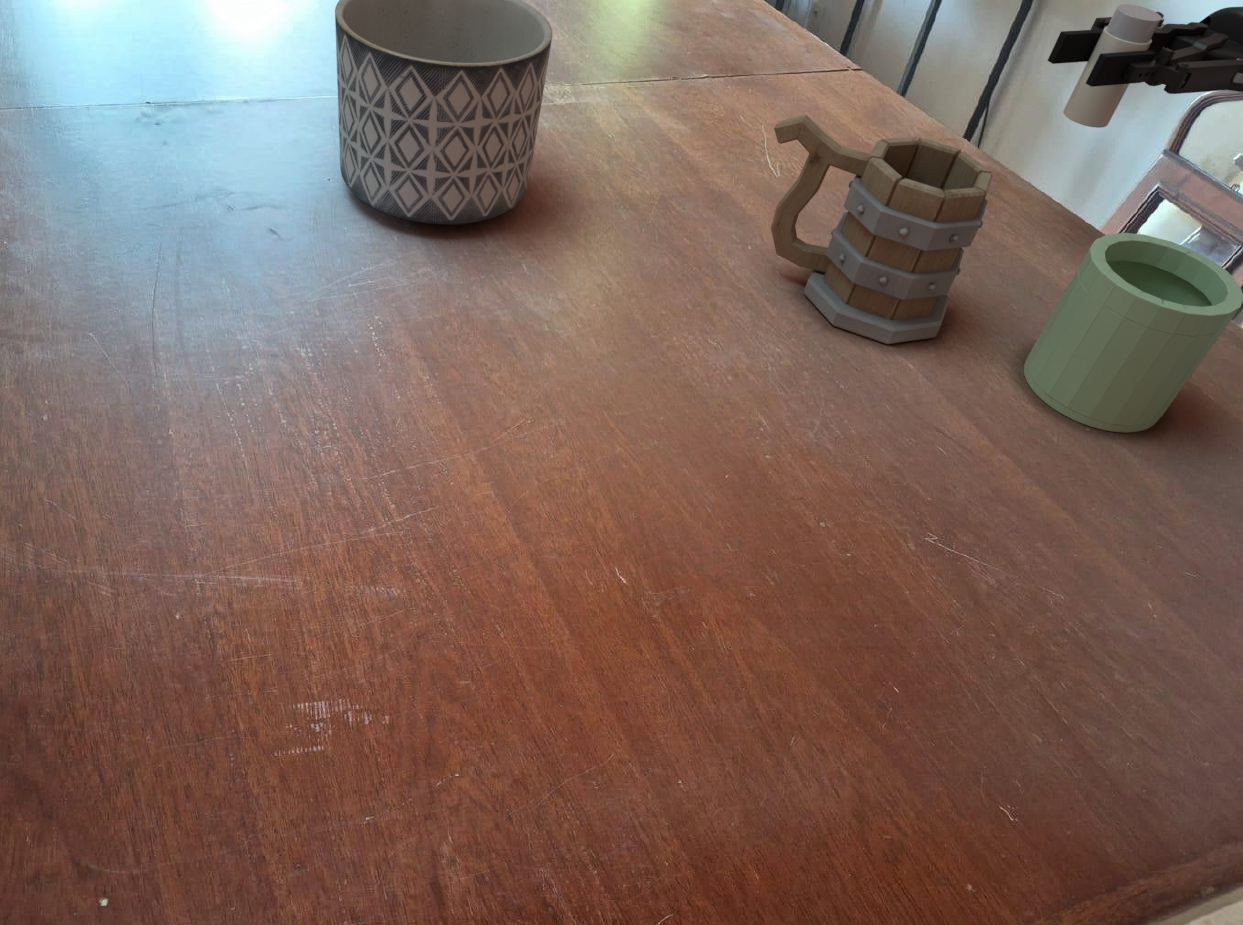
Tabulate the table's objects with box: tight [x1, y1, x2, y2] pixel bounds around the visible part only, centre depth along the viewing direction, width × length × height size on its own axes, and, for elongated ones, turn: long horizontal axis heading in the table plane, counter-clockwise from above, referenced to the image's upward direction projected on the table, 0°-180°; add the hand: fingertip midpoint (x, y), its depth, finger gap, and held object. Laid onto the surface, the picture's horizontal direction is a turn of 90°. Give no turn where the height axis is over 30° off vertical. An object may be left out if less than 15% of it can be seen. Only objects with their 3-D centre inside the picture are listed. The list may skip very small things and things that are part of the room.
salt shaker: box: [1062, 3, 1161, 129], centre depth 102 cm, size 4×4×10 cm
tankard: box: [770, 114, 993, 345], centre depth 96 cm, size 20×13×15 cm, turn 65°
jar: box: [1023, 232, 1243, 434], centre depth 90 cm, size 12×12×12 cm
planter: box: [334, 0, 553, 225], centre depth 100 cm, size 19×19×16 cm
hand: (1076, 58), depth 99 cm, fingers closed on salt shaker, 4 cm apart
